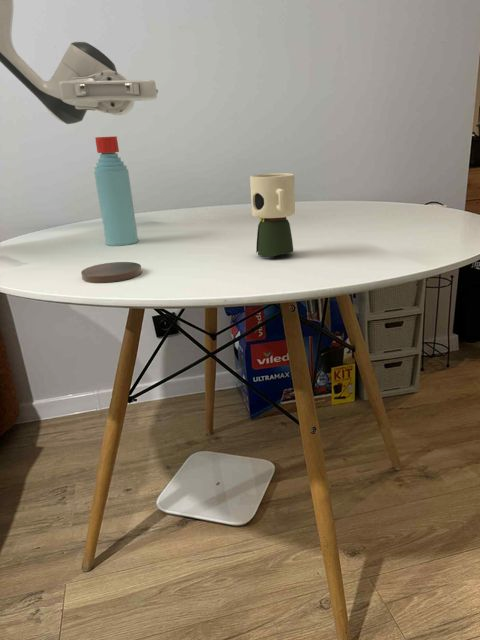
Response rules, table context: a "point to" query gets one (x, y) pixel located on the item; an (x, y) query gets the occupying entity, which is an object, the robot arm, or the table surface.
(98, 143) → the cap
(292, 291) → the table surface
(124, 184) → the bottle
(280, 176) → the character mug
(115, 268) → the coaster
